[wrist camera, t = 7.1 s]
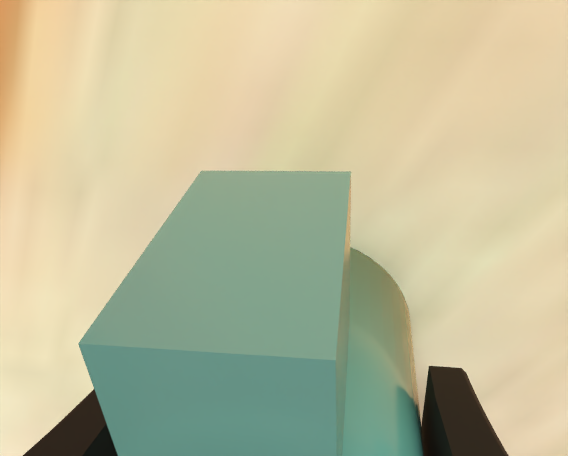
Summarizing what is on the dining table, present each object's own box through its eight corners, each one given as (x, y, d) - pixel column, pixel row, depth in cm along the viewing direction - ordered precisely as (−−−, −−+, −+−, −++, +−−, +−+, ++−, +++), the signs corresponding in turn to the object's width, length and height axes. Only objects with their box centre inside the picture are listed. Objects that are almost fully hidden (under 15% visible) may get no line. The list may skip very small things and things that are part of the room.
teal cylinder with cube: (439, 119, 10) (608, 575, 3) (410, 407, 14) (451, 882, 7) (162, 122, 10) (-227, 474, 4) (212, 392, 15) (73, 799, 8)
